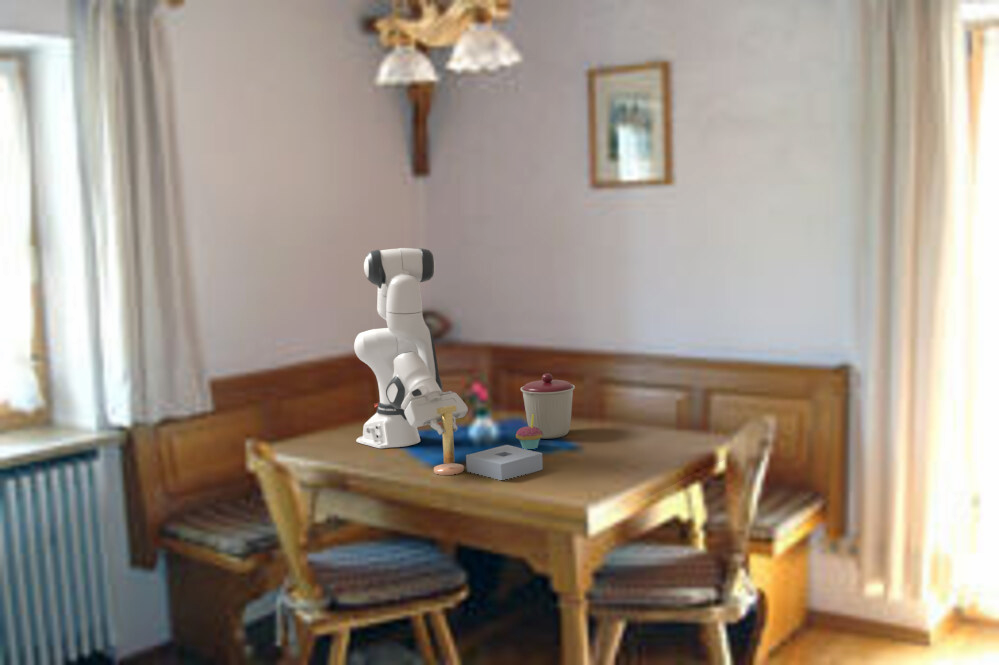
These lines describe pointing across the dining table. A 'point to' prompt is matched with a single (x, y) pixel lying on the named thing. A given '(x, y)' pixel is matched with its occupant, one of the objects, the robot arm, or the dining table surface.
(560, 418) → the canister
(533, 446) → the cupcake
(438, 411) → the key
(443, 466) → the pink flat disc
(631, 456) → the dining table surface
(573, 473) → the dining table surface
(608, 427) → the dining table surface
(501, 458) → the grey square socket block
